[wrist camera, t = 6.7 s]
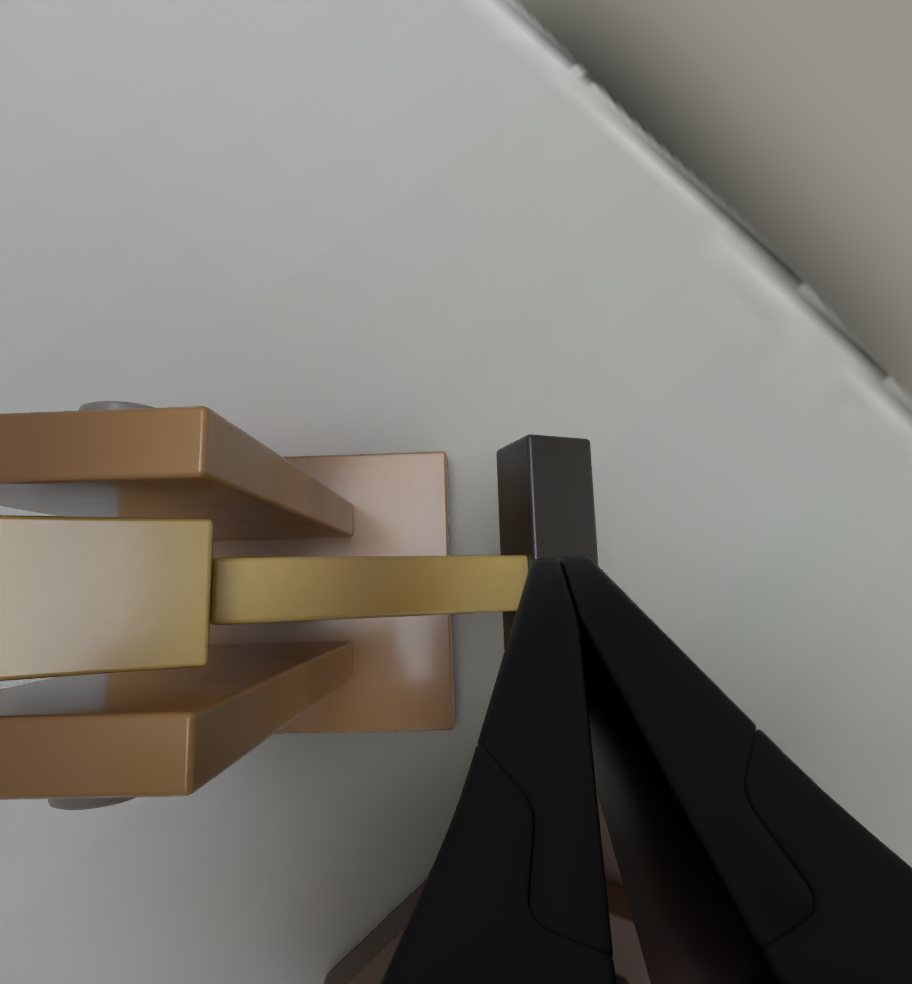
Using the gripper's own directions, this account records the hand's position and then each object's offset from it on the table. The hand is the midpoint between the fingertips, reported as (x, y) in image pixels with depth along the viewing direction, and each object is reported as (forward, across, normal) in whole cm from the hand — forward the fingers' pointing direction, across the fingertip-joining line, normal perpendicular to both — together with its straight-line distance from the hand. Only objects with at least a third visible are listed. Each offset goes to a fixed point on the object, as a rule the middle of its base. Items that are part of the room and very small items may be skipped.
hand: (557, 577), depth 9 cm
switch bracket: (+7, +7, +6) cm, 12 cm away
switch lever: (+2, +4, +2) cm, 5 cm away
